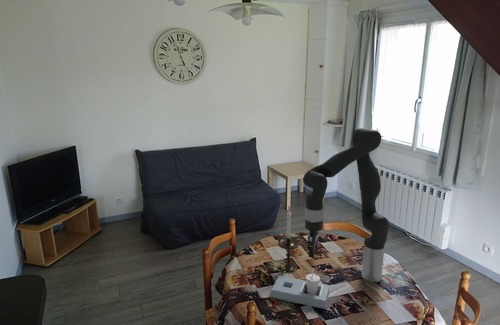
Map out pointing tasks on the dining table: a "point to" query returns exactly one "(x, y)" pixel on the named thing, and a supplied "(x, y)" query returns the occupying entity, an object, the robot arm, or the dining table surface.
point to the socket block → (299, 292)
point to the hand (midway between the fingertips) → (313, 252)
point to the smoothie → (312, 283)
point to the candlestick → (288, 245)
